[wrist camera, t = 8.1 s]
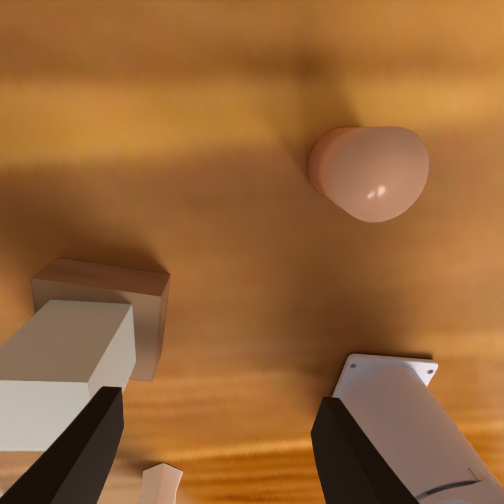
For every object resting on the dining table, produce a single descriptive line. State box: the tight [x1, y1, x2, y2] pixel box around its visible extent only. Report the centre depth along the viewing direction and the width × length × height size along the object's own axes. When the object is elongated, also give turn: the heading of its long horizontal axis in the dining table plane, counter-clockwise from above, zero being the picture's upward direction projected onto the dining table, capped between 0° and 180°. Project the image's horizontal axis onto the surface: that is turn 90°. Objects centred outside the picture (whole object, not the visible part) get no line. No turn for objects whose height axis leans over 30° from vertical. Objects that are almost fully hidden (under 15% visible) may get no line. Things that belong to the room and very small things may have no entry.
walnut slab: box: [31, 258, 170, 381], centre depth 18 cm, size 7×7×3 cm
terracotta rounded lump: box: [307, 127, 429, 222], centre depth 14 cm, size 4×4×5 cm
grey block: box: [0, 300, 136, 451], centre depth 14 cm, size 4×4×6 cm
